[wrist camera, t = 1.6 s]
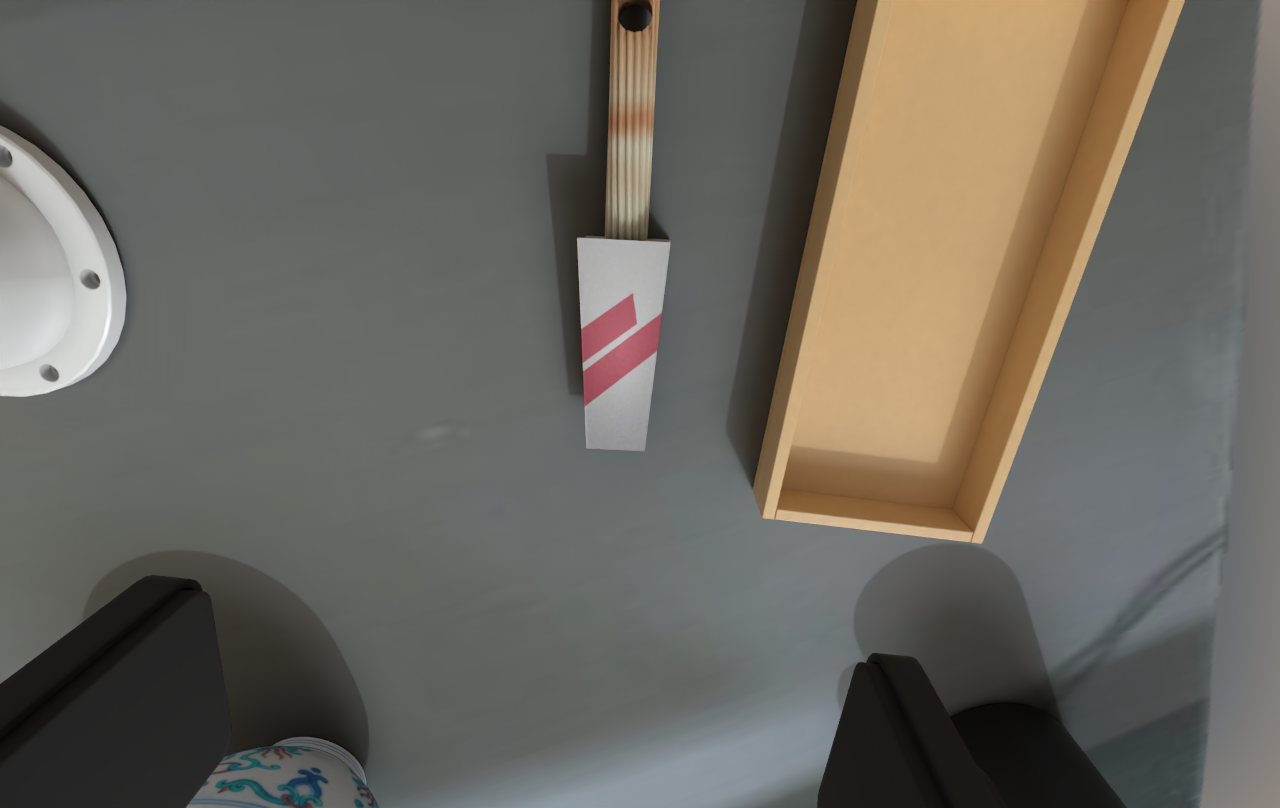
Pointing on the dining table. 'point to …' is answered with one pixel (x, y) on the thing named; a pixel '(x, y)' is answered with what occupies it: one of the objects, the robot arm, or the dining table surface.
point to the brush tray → (948, 251)
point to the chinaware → (287, 778)
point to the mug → (1032, 759)
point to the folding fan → (624, 253)
